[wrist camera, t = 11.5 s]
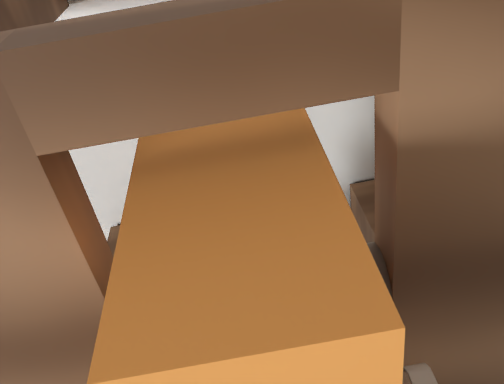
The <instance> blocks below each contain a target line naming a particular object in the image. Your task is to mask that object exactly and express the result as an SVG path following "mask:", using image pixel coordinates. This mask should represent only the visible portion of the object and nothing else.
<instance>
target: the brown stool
mask: <svg viewBox="0 0 504 384" xmlns="http://www.w3.org/2000/svg"><path fill="white" fill-rule="evenodd" d="M68 6H69V5H68V2H67V0H0V384H87V380H88V375H89V371H90V366H91V361H92V356H93V352H94V347H95V342H96V337H97V333H98V328H99V323H100V319H101V314H102V309H103V304H104V300H105V295H106V290H107V286H108V281H109V276H110V271H111V267H112V262H113V257H114V252H115V248H116V243H117V238H118V234H119V229H120V226H114V227H111V228H110V233H109V237H108V241H107V240H106V238H105V236H104V233H103V231H102V229H101V226H100V224H99V222H98V219H97V217H96V215H95V212H94V210H93V207H92V205H91V203H90V200H89V198H88V196H87V193H86V191H85V189H84V186H83V184H82V182H81V179H80V177H79V175H78V172H77V170H76V167H75V165H74V163H73V160H72V158H71V156H70V153H69V151H68V150H73V149H78V148H84V147H89V146H95V145H101V144H106V143H112V142H117V141H123V140H128V139H134V138H140V137H145V136H151V135H156V134H162V133H167V132H173V131H179V130H184V129H190V128H195V127H201V126H206V125H212V124H217V123H223V122H229V121H234V120H240V119H245V118H251V117H256V116H262V115H268V114H273V113H279V112H284V111H290V110H295V109H301V108H307V107H312V106H318V105H323V104H329V103H334V102H340V101H346V100H351V99H357V98H362V97H368V96H373V95H375V180H371V181H365V182H360V183H354V184H350V197H351V210H352V213H353V215H354V217H355V219H356V221H357V223H358V226H359V228H360V230H361V232H362V234H363V237H364V239H365V241H366V243H367V245H368V247H369V250H370V252H371V254H372V256H373V258H374V261H375V263H376V265H377V267H378V269H379V271H380V274H381V276H382V278H383V280H384V282H385V284H386V287H387V289H388V291H389V293H390V295H391V298H392V300H393V302H394V304H395V306H396V308H397V311H398V313H399V315H400V317H401V319H402V322H403V324H404V326H405V344H404V363H403V366H407V365H412V364H418V363H423V362H424V363H426V364H427V365H428V366H429V367H430V368H431V370H432V372H433V374H434V376H435V378H436V381H437V383H438V384H504V0H172V1H167V2H161V3H156V4H150V5H145V6H139V7H134V8H128V9H122V10H117V11H111V12H106V13H100V14H95V15H89V16H84V17H78V18H73V19H67V20H61V21H56V22H54V21H55V20H56V19H57V18H58V17H59V16H60V15H61V14H62V13H63V12H64V11H65V10H66V9H67V7H68Z"/></svg>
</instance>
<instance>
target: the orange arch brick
mask: <svg viewBox="0 0 504 384" xmlns="http://www.w3.org/2000/svg"><path fill="white" fill-rule="evenodd" d="M404 344H405V326H404V324H403V322H402V319H401V317H400V315H399V313H398V311H397V308H396V306H395V304H394V302H393V300H392V298H391V295H390V293H389V291H388V289H387V287H386V284H385V282H384V280H383V278H382V276H381V274H380V271H379V269H378V267H377V265H376V263H375V261H374V258H373V256H372V254H371V252H370V250H369V247H368V245H367V243H366V241H365V239H364V237H363V234H362V232H361V230H360V228H359V226H358V223H357V221H356V219H355V217H354V215H353V213H352V210H351V208H350V206H349V204H348V202H347V199H346V197H345V195H344V193H343V191H342V189H341V186H340V184H339V182H338V180H337V178H336V176H335V173H334V171H333V169H332V167H331V165H330V162H329V160H328V158H327V156H326V154H325V152H324V149H323V147H322V145H321V143H320V141H319V138H318V136H317V134H316V132H315V130H314V128H313V125H312V123H311V121H310V119H309V117H308V115H307V112H306V110H305V108H301V109H295V110H290V111H284V112H279V113H273V114H268V115H262V116H256V117H251V118H245V119H240V120H234V121H229V122H223V123H217V124H212V125H206V126H201V127H195V128H190V129H184V130H179V131H173V132H167V133H162V134H156V135H151V136H145V137H140V138H139V139H138V144H137V149H136V153H135V158H134V163H133V167H132V172H131V177H130V182H129V186H128V191H127V196H126V200H125V205H124V210H123V215H122V219H121V224H120V229H119V234H118V238H117V243H116V248H115V252H114V257H113V262H112V267H111V271H110V276H109V281H108V286H107V290H106V295H105V300H104V304H103V309H102V314H101V319H100V323H99V328H98V333H97V337H96V342H95V347H94V352H93V356H92V361H91V366H90V371H89V375H88V380H87V384H402V381H403V363H404Z"/></svg>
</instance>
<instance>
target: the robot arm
mask: <svg viewBox="0 0 504 384" xmlns="http://www.w3.org/2000/svg"><path fill="white" fill-rule="evenodd" d="M402 384H438V383H437V381H436V378H435V376H434V374H433V372H432V370H431V368H430V367H429V366H428V365H427V364H426V363H424V362H423V363H418V364H412V365H407V366H403V381H402Z"/></svg>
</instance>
